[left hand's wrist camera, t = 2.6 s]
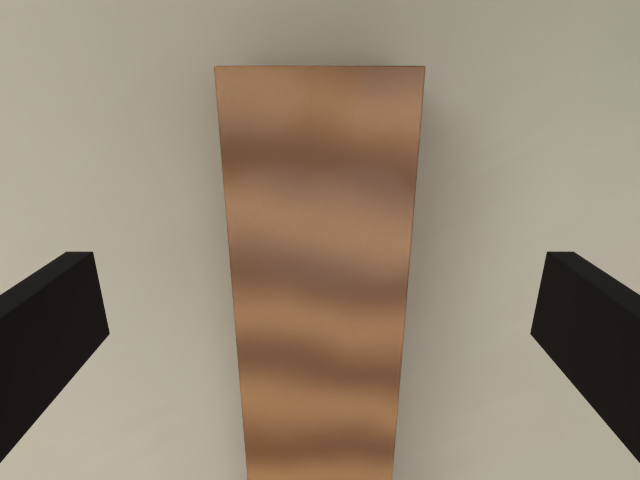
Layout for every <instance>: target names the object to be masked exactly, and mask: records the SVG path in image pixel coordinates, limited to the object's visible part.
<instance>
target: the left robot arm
mask: <svg viewBox="0 0 640 480" xmlns="http://www.w3.org/2000/svg"><path fill="white" fill-rule="evenodd" d="M109 334H110V333H109V328H108V323H107V318H106V313H105V309H104V304H103V299H102V294H101V289H100V284H99V279H98V274H97V269H96V264H95V259H94V255H93V252H65V253H64V254H62V255H61V256H59V257H58V258H56V259H55V260H53V261H52V262H50V263H49V264H47V265H45V266H44V267H42V268H41V269H39V270H38V271H36V272H35V273H33V274H32V275H30V276H29V277H27V278H26V279H24V280H23V281H21V282H20V283H18V284H16V285H15V286H13V287H12V288H10V289H9V290H7V291H6V292H4V293H3V294H1V295H0V463H1V461H2V460H3V459H4V458H5V457H6V455H7V454H8V453H9V452H10V451H11V450H12V448H13V447H14V446H15V445H16V444H17V442H18V441H19V440H20V439H21V438H22V437H23V435H24V434H25V433H26V432H27V431H28V430H29V428H30V427H31V426H32V425H33V424H34V422H35V421H36V420H37V419H38V418H39V417H40V415H41V414H42V413H43V412H44V411H45V409H46V408H47V407H48V406H49V405H50V404H51V402H52V401H53V400H54V399H55V398H56V396H57V395H58V394H59V393H60V392H61V391H62V389H63V388H64V387H65V386H66V385H67V384H68V382H69V381H70V380H71V379H72V378H73V376H74V375H75V374H76V373H77V372H78V371H79V369H80V368H81V367H82V366H83V365H84V363H85V362H86V361H87V360H88V359H89V358H90V356H91V355H92V354H93V353H94V352H95V350H96V349H97V348H98V347H99V346H100V345H101V343H102V342H103V341H104V340H105V339H106V337H107V336H108V335H109ZM530 334H531V335H532V336H533V337H534V339H535V340H536V341H537V342H538V343H539V345H540V346H541V347H542V348H543V349H544V350H545V352H546V353H547V354H548V355H549V356H550V358H551V359H552V360H553V361H554V362H555V363H556V365H557V366H558V367H559V368H560V369H561V371H562V372H563V373H564V374H565V375H566V376H567V378H568V379H569V380H570V381H571V382H572V384H573V385H574V386H575V387H576V388H577V389H578V391H579V392H580V393H581V394H582V395H583V396H584V398H585V399H586V400H587V401H588V402H589V404H590V405H591V406H592V407H593V408H594V409H595V411H596V412H597V413H598V414H599V415H600V417H601V418H602V419H603V420H604V421H605V422H606V424H607V425H608V426H609V427H610V428H611V430H612V431H613V432H614V433H615V434H616V435H617V437H618V438H619V439H620V440H621V441H622V442H623V444H624V445H625V446H626V447H627V448H628V450H629V451H630V452H631V453H632V454H633V455H634V457H635V458H636V459H637V460H638V461H639V463H640V295H639V294H637V293H636V292H634V291H633V290H631V289H630V288H628V287H627V286H625V285H624V284H622V283H620V282H619V281H617V280H616V279H614V278H613V277H611V276H610V275H608V274H607V273H605V272H604V271H602V270H601V269H599V268H598V267H596V266H595V265H593V264H591V263H590V262H588V261H587V260H585V259H584V258H582V257H581V256H579V255H578V254H576V253H575V252H547V255H546V259H545V264H544V269H543V274H542V279H541V284H540V289H539V294H538V299H537V304H536V309H535V313H534V318H533V323H532V328H531V333H530Z"/></svg>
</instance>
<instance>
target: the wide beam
mask: <svg viewBox="0 0 640 480" xmlns="http://www.w3.org/2000/svg"><path fill="white" fill-rule="evenodd" d="M214 72H215V84H216V96H217V109H218V121H219V133H220V145H221V158H222V170H223V182H224V194H225V207H226V219H227V231H228V243H229V256H230V268H231V280H232V292H233V305H234V317H235V329H236V342H237V354H238V366H239V378H240V391H241V403H242V415H243V427H244V440H245V452H246V464H247V476H248V480H392V473H393V460H394V448H395V436H396V423H397V411H398V399H399V386H400V374H401V362H402V349H403V337H404V325H405V312H406V300H407V288H408V275H409V263H410V251H411V239H412V226H413V214H414V202H415V189H416V177H417V165H418V152H419V140H420V128H421V115H422V103H423V91H424V78H425V66H215V67H214Z"/></svg>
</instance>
